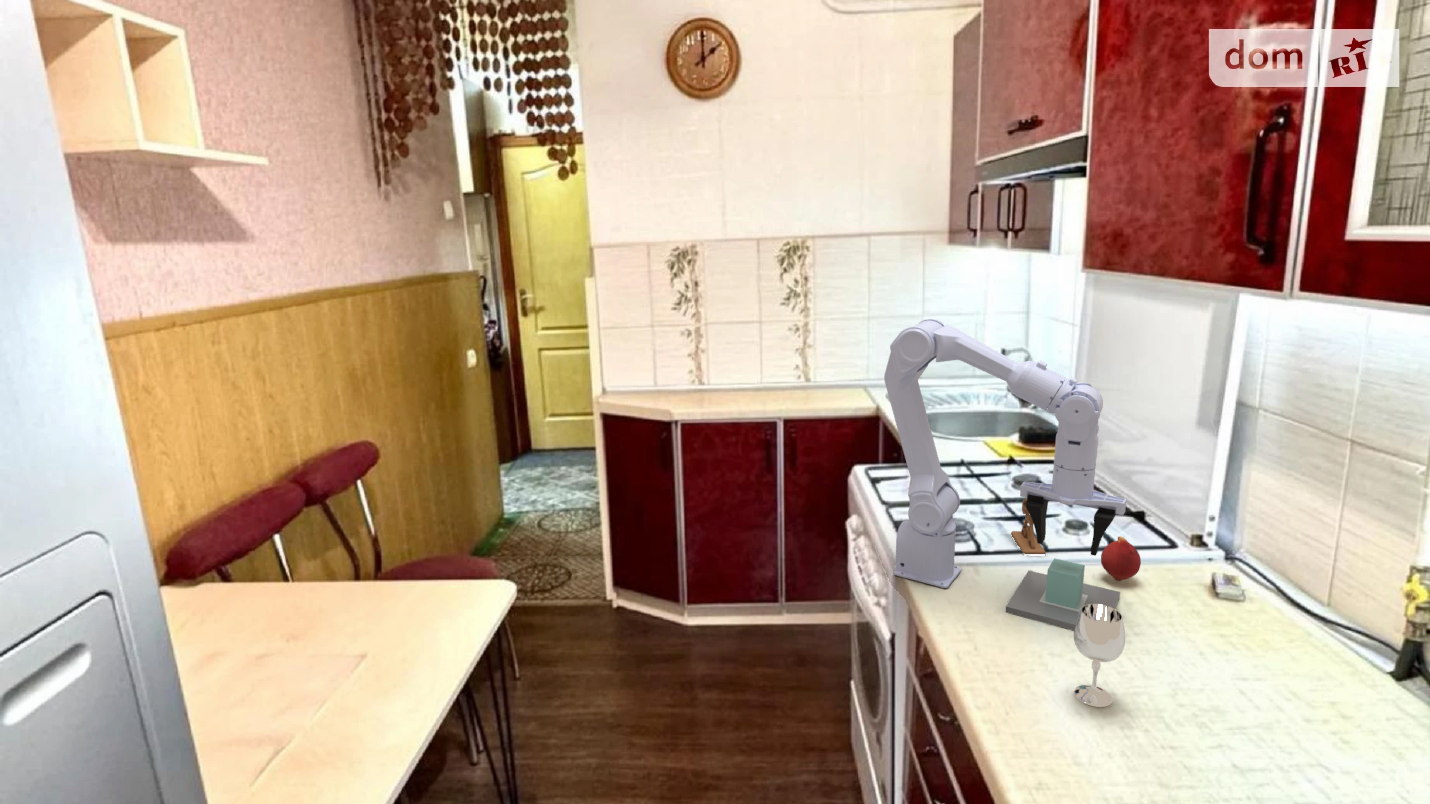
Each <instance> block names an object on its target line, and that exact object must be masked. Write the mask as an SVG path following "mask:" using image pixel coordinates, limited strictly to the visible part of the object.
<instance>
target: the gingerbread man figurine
mask: <svg viewBox="0 0 1430 804" xmlns="http://www.w3.org/2000/svg"><path fill="white" fill-rule="evenodd" d="M1026 501H1027V498H1023V500H1022V502H1021V503H1022V504H1021V512H1022V515H1025V518H1024V522H1023V524H1022V527H1021V530H1019V531H1018V530H1012V531H1011V532H1010V533H1011V534H1010V536H1011V535H1012V537H1013V538H1014V540H1015V542H1016V543H1017V545H1018V546H1019V547H1020V549H1021V550H1022V552H1023V553H1025V554H1045V555H1046V550H1045V549H1044V547H1043V546H1042V544H1039V543H1037V536H1035V532H1034V531H1035V528H1034V524H1033V521H1032V518H1031V516H1030V514H1029V512H1028V510H1027V508H1026V504H1025V503H1026ZM1012 537H1011V538H1012ZM1014 540H1013V541H1014ZM1015 542H1014V543H1015ZM1016 543H1015V544H1016ZM1017 545H1016V546H1017Z"/></svg>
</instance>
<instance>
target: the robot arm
mask: <svg viewBox="0 0 1430 804" xmlns="http://www.w3.org/2000/svg"><path fill="white" fill-rule="evenodd" d="M889 349H890V353H889V357H888V361H887V364H886V368H885V372H884V374H883V379H884V384H885V387H886V391H887V395H888V398H889V399H888V400H889V403H890V407H891V410H892V413H893V418H894V421H895V424H896V429H897V431H898V437H899V439H900V440H899V441H900V443H901V446H902V447H901V448H902V451H903V455H904V459H905V461H906V465H907V470H908V473H909V477H910V480H909V485H908V492H907V496H908V499H909V508H908V510H907V512H908V513H907V515H908V516H907V517H908V520H907V519H905V520H903V521H902V522H901V523H900V525H899V527H898V529H897V534H896V540H895V569H894V571H893V575H894V576H897V577H900V578H905V579H907V580H908V579H909V580H911V581H915V582H920V583H923V584H928V585H932V586H934V587H939V588H943V589H948V588H949V587H950V586H951V584H952V583H953V582H954V580H955V579H956V578H957V576H959V575H960V573H961V572H962V570H963V569H962V567H960V566H957V565H955V553H956V552H955V551H956V549H955V548H956V533H957V531H956V530H957V525H956V522H955V519H954V514H955V513H956V512H957V511H958V510H959V508H960V505H961V497H960V495H959V492H958V491H957V489H955V487H954V486H953V484H952V483H951V481H950V478H949V475H948V474H947V472H945V470H944V469H942V467H941V463H940V459H939V454H938V452H937V448H936V443H935V441H934V436H933V432H932V429H931V425H930V422H929V418H928V414H927V411H926V406H925V401H924V399H923V395H922V391H921V388H920V387H921V386H920V383H919V379H921V377H922V375H923V373H924V372H925V370H926V369H927V368H928V366H929V364H930V363H932V362H933V361H934V360H935V363H941V362H951V361H960V362H963V363H965V364H967V365H969V366H971V367H974V368H976V369H978V370H980V371H983V372H985V373H987V374H989V375H991V376H993V377H996V378H997V379H1000V380H1001V381H1005V382H1006V384H1007V386H1008V389H1009V392H1010V394H1012V395H1015V397H1017V398H1020V399H1022V400H1024V401H1026V402H1027V403H1029V404H1031V405H1034V406H1035V407H1037V408H1039V409H1041V410H1043V411H1045V412H1047V413H1049V414H1054V416H1055V419H1056V421H1057V422H1058V425H1057V426H1058V427H1057V433H1056V435H1055V445H1054V446H1055V447H1054V457H1053V458H1054V459H1053V466H1052V467H1053V469H1052V481H1051V483H1045V482H1044V483H1043V482H1041V483H1040V482H1039V483H1038V482H1032V481H1031V482H1030V481H1023V482H1022V483H1021V484H1020V492H1019V493H1020V494H1019V496H1020V498H1021V497H1022V498H1026V499H1027V501H1026V503H1025V504H1026V508H1027V510H1028V512H1029V515H1030V516H1031V518H1032V521H1033V528H1034V531H1035V535H1036V536H1035V537H1036V539H1037V543H1039V544H1040V545H1042V544H1043V543H1044V542H1045V540H1046V532H1047V530H1046V529H1047V513H1048V512H1047V511H1048V508H1049V506H1048V505H1049V501H1053V502H1057V503H1059V504H1062V505H1068V506H1078V507H1079V506H1080V507H1084V508H1089V509H1090V508H1091V509H1095V510H1096V509H1097V510H1096V511H1095V513H1094V515H1093V533H1092V536H1093V537H1092V541H1091V545H1090V555H1091V556H1097V554H1098V552H1099V547H1100V544H1101V541H1102V539H1103V537H1104V536H1103V535H1105V533H1106V531H1107V529H1108V528H1109V527H1110V526H1111V524H1112V523H1113V521H1114V519H1115V517H1116V515H1120V516H1123V515H1124V514H1125V512H1126V505H1127V498H1122V497H1118V496H1114V495H1110V494H1108V493H1103V492H1101V491H1098V490H1094V487H1095V477H1096V476H1095V475H1096V467H1097V466H1096V465H1097V454H1098V446H1099V436H1098V433H1099V428H1100V426H1099V419H1100V415H1101V413H1102V409H1103V408H1104V407H1103V406H1104V400H1103V396H1102V394H1101V393H1100V391H1099V390H1098V389H1097V388H1096V387H1094V386H1093V385H1092V384H1090V383H1088V382H1078V379H1076V378H1075V377H1072V376H1071V378H1067V377H1065V376H1063V375H1062V374H1059V373H1057V372H1055V371H1053V370H1051V369H1049V368H1048V363H1046V362H1044V361H1042V360H1039V361H1038V362H1035V361H1033V360H1026V361H1023V362H1018V361H1015V360H1013V359H1011V358H1010V357H1008V356H1006V355H1004V354H1002V353H1001V352H999V351H997V350H996V349H993V348H992V347H990V346H988V345H986V344H985V343H982V342H981V341H979V340H977V339H976V338H974V337H972V336H970V335H968V334H967V333H965V332H963V331H962V330H961V329H958V328H957V327H956V326H952V325H949V324H946V325H945V324H944V323H943V322H941V320H938V319H935V318H927V319H926V318H925V319H923V320H921V321H919V322H918V323H917V324H915V325H913V326H909V327H906V328H904V329H903V330H901V331H900V332H899V333H898V335H896V337H895V339H894V340H892V342H891V343H890V346H889Z"/></svg>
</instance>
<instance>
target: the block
mask: <svg viewBox="0 0 1430 804" xmlns="http://www.w3.org/2000/svg"><path fill="white" fill-rule="evenodd" d="M1085 565H1086V564H1081V563H1077V562H1072V561H1069V560H1063V559H1060V558H1053V560H1052V562H1051V563H1050V565H1049V566H1048V568H1047V573H1046V575H1047V584H1046V597H1045V601H1046V602H1050V603H1054V604H1058V605H1062V606H1066V607H1070V608H1074V609H1076V608H1077V606H1078V604H1079V602H1080V600H1081V598H1082V590H1083V583H1084V579H1085V578H1084V577H1085V569H1086V568H1085V567H1086V566H1085Z"/></svg>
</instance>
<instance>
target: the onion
mask: <svg viewBox="0 0 1430 804" xmlns="http://www.w3.org/2000/svg"><path fill="white" fill-rule="evenodd" d="M1141 559H1142V558H1141V555H1140V553H1139V551H1138V550H1137V548H1136V547H1135V546H1134V545H1132V544H1131V543H1130V542H1129V541H1128V540H1127V539H1126V538H1125V536H1121V535H1120V536H1117V540H1114V541H1111V542H1110V543H1109V544H1107V545H1106V546H1105V547H1104V549H1103V550H1102V551H1101V554H1100V564H1101V566H1102V568H1103V569H1104V570H1105V571H1106V572H1107V574H1109V575H1110V577H1111V578H1113V580H1115V581H1117V582H1123V581H1126V580H1129V579H1131V578H1132V577H1134V576H1135V575H1137V573H1139V571H1140V569H1141V564H1142V563H1141V562H1142V560H1141Z"/></svg>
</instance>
